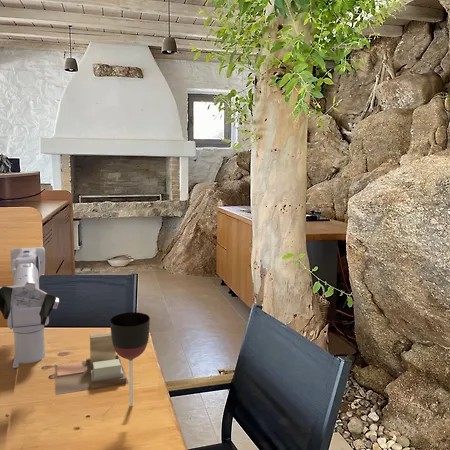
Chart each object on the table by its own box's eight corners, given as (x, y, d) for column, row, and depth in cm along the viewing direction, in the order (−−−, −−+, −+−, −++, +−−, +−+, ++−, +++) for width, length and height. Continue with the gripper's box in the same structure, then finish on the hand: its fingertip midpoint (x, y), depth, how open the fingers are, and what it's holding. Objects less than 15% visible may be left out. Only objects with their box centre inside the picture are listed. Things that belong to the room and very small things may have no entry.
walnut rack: (55, 368, 115) (54, 360, 114) (118, 359, 120) (118, 351, 120) (55, 398, 100) (55, 389, 100) (128, 387, 106) (128, 378, 105)
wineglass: (152, 399, 101) (152, 312, 98) (147, 420, 92) (146, 326, 89) (116, 399, 100) (115, 312, 98) (108, 421, 92) (106, 326, 89)
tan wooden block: (90, 364, 115) (89, 334, 114) (114, 361, 117) (114, 331, 116) (91, 368, 113) (90, 337, 112) (115, 365, 115) (115, 334, 114)
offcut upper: (93, 370, 107) (92, 362, 107) (118, 366, 110) (118, 358, 109) (94, 377, 104) (94, 368, 104) (120, 373, 106) (120, 365, 106)
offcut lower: (91, 378, 108) (90, 370, 107) (120, 373, 110) (120, 366, 110) (92, 386, 104) (92, 377, 104) (123, 381, 106) (123, 373, 106)
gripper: (-1, 265, 105) (-5, 296, 94) (61, 278, 112) (65, 308, 101) (-10, 290, 107) (-15, 324, 95) (52, 302, 114) (55, 334, 102)
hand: (26, 318), depth 98 cm, fingers open, 7 cm apart
